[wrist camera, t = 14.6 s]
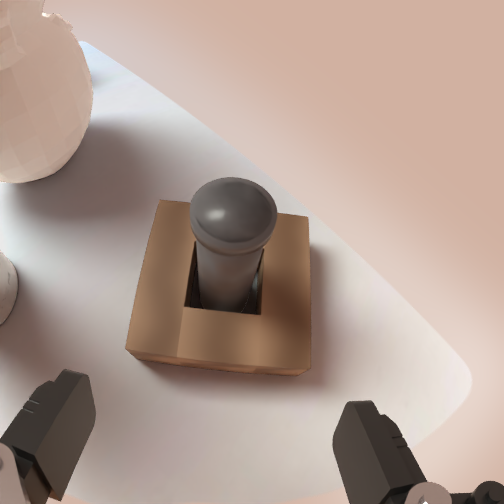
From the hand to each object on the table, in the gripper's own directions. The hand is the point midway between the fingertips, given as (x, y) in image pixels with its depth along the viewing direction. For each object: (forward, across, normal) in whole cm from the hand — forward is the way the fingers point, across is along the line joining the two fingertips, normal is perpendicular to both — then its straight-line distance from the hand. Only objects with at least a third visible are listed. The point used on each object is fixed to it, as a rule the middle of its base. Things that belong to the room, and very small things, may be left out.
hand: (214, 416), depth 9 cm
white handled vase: (+32, +27, -7) cm, 42 cm away
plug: (+20, 0, +5) cm, 21 cm away
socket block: (+20, 0, +4) cm, 21 cm away
